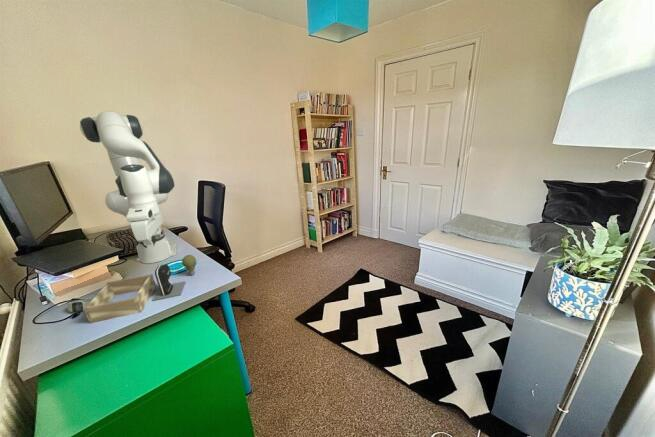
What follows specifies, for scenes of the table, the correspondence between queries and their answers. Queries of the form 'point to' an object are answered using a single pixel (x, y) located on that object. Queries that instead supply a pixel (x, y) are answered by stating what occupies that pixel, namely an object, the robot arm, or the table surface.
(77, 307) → the wristwatch
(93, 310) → the box
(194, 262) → the light bulb
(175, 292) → the pad
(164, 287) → the battery charger
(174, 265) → the table surface
